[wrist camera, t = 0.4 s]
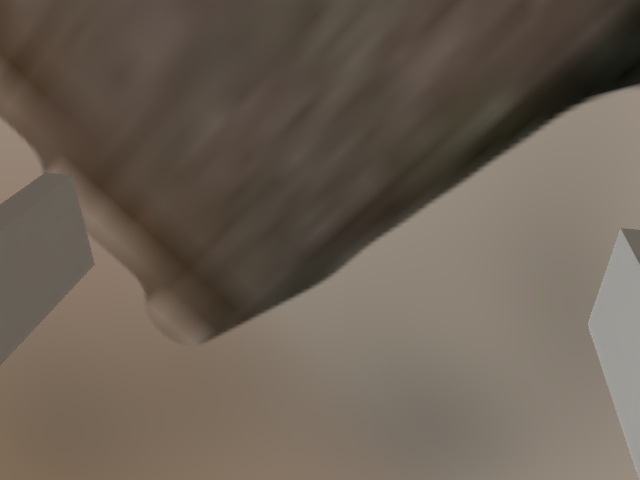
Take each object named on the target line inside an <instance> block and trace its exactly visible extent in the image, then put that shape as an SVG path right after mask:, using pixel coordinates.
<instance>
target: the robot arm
mask: <svg viewBox="0 0 640 480" xmlns="http://www.w3.org/2000/svg"><path fill="white" fill-rule="evenodd" d="M94 265H95V264H94V260H93V256H92V252H91V248H90V244H89V239H88V235H87V231H86V227H85V223H84V219H83V215H82V211H81V207H80V203H79V199H78V195H77V191H76V187H75V183H74V179H73V175H65V174H55V173H44V174H43V175H41V176H40V177H38V178H37V179H36V180H34V181H33V182H31V183H30V184H29V185H27V186H26V187H24V188H23V189H21V190H20V191H19V192H17V193H16V194H14V195H13V196H12V197H10V198H9V199H7V200H6V201H4V202H3V203H2V204H0V365H1V364H2V363H3V362H4V361H5V360H6V359H7V358H8V357H9V355H10V354H11V353H12V352H13V351H14V350H15V349H16V348H17V347H18V346H19V345H20V344H21V343H22V342H23V341H24V339H25V338H26V337H27V336H28V335H29V334H30V333H31V332H32V331H33V330H34V329H35V328H36V327H37V326H38V325H39V323H40V322H41V321H42V320H43V319H44V318H45V317H46V316H47V315H48V314H49V313H50V312H51V311H52V310H53V308H54V307H55V306H56V305H57V304H58V303H59V302H60V301H61V300H62V299H63V298H64V297H65V295H67V294H68V292H69V291H70V290H71V289H72V288H73V287H74V286H75V285H76V284H77V283H78V281H80V279H81V278H82V277H83V276H84V275H85V274H86V273H87V272H88V271H89V270H90V269H91V268H92V267H93V266H94ZM588 328H589V330H590V333H591V337H592V340H593V342H594V346H595V349H596V352H597V355H598V358H599V361H600V364H601V367H602V370H603V373H604V376H605V379H606V382H607V385H608V388H609V391H610V394H611V397H612V400H613V403H614V406H615V409H616V412H617V415H618V418H619V421H620V424H621V427H622V430H623V433H624V436H625V439H626V442H627V445H628V449H629V452H630V455H631V457H632V461H633V464H634V467H635V470H636V473H637V476H638V479H639V480H640V230H633V229H622V228H621V229H620V232H619V235H618V238H617V241H616V243H615V246H614V249H613V252H612V255H611V258H610V261H609V264H608V267H607V270H606V272H605V276H604V278H603V281H602V284H601V287H600V290H599V293H598V296H597V299H596V302H595V305H594V307H593V310H592V313H591V316H590V319H589V322H588Z"/></svg>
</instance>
